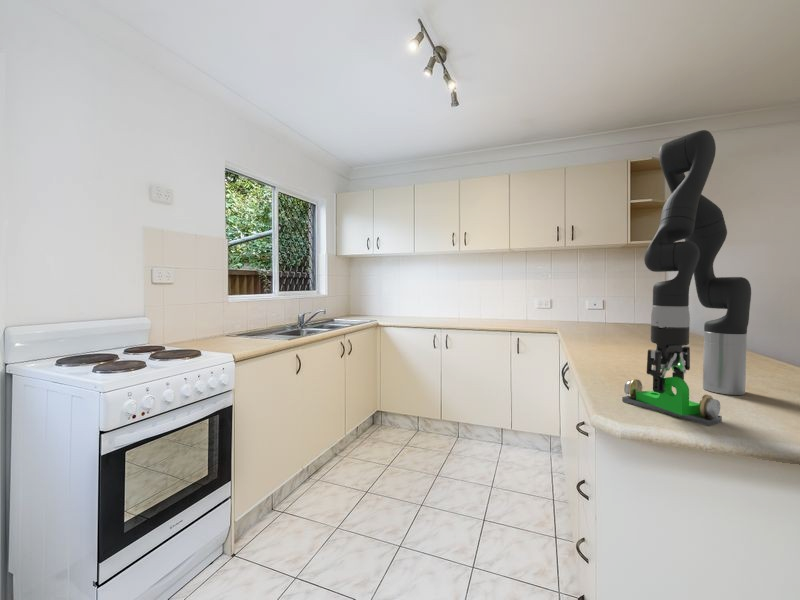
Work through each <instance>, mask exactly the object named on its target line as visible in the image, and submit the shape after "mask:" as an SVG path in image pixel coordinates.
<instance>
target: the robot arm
mask: <svg viewBox="0 0 800 600" xmlns="http://www.w3.org/2000/svg"><path fill="white" fill-rule="evenodd" d="M716 145H717V144H716V141H715V138H714V136H713V135H712V133H711V132H710V131H709V130H705V129H704V130H703V129H702V130H697V131H694V132H691V133H689V134H687V135H684V136H681V137H679V138H674V139H673V140H670V141H666V142H665V143H663V144H662V145H661V146H660V148H659V150H658V157H659V158H658V160H659V165H660V168H661V171H662V173H663V175H664V178H665V182H666V183H667V186H668V188H669V191H670V193H671V194H670V196H668V198H667V200H666V201H665V202H664V205H663V206H662V210H661V215H660V221H659V225H658V228H657V231H656V233H654V234H655V235H654V236H653V238H652V240H651V241H650V242H649V245H648V247H647V248H646V250H645V253H644V259H643V262H644V265H645V267H646V268H647V269H648V270H649V271H651V272H654V273H655V272H656V273H657V272H658V273H663V272H664V273H665V272H677V274H676V276H675V277H674V278H672V279H669V280H665V281H659V282H656V283H655V284H654V285H653V288H652V310H651V315H650V342H652V343H653V344H655V345H656V348H655V349H648V350H647V357H646V360H647V361H646V374H647V375H650V376H652V391H654V392H657V393H664V388H665V378H666V377H665V376H666V374H667V372H668V371H670V370H671V371H672V373H671V374H672V375H671V377H679V378H681V379H683V380H684V381H685V374H687V371H690V369H691V353H690V352H691V349H690V346H688V345H689V344H690V323H691V322H690V321H691V317H690V316H691V315H690V310H689V309H690V307H689V303H690V296H689V295H690V288H691V287H690V286H691V282H692V279H693V277H694V284H695V290H696V293H697V297H698V298H697V299H698V300H699V302H700V304H701V305H702V306H703V307H704V308H708V309H716V310H719V309H721V310H722V309H723V310H726V313H725V315H723V316H722V317H719V318H716V319H712V320H707V321H705V322H704V327H703V331H704V332H703V364H702V367H703V368H702V389H704V390H706V391H709V392H712V393H716V394H723V395H731V396H742V395H743V396H744V395H745V394H746V379H747V373H746V372H747V347H748V346H747V343H748V342H747V341H748V340H747V338H748V337H747V336H748V334H747V333H748V327H749V326H748V325H749V321H750V310H751V309H750V308H751V302H752V301H751V300H752V287H751V283H750V281H749V280H748V279H747V278H745V277H743V276H729V277H728V276H725V277H723V276H722V277H721V276H720V277H719V276H718V277H716V275H715V270H714V262H715V260H716V257H717V255H718V254H719V252H720V251H721V249H722V247H723V245H724V243H725V241H726V239H727V235H728V230H727V229H728V228H727V225H726V221H725V217H724V213H723V211H722V209H721V208H720V207H719V206H718V205H717V204H716V203H714V202H713V201H711V200H710V199H709V198H707V197H706V196H704V195H703V194H702V192H703V190H704V188H705V185H706V182H707V180H708V178H709V175H710V172H711V169H712V167H713V164H714V161H715V157H716ZM686 173H687V174H686ZM683 240H684V241H683ZM652 366H653V367H652ZM672 388H675V387H674V386H672Z"/></svg>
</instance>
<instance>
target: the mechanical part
mask: <svg viewBox="0 0 800 600" xmlns="http://www.w3.org/2000/svg"><path fill="white" fill-rule="evenodd" d="M664 378H665V388H664V393H657V392H654V391H653V390H644V391H643V390H642V391H640V392H636V400H639V401H642V402H645V403H648V404H651V405H654V406H656V407H659V408H662V409H665V410H668V411H671V412H674V413H677V414H679V415H690V414H699V413H700V412H699V404H700V402H699V403H698V402H695V401H693V400H690V387H689V386H688V385H689V384H688V383H687V382H686V381H685V379H684V380H683V379H681V378H679V377H672V376H668V377H664ZM673 386H674V387H673ZM673 388H675V390H676V391H675V393H674V391H673Z"/></svg>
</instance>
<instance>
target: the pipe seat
mask: <svg viewBox="0 0 800 600" xmlns="http://www.w3.org/2000/svg"><path fill="white" fill-rule="evenodd" d="M623 388H624V389H623V390H624V393H625V395H626V396H622V397H621V398H622V401H623V403H627V404H629V405H633V406H637V407H641V408H643V409H648V410H651V411H654V412H658V413H661V412H662V413H661V414H666V415H669V416H672V417H675V418H680V419H682V420H686V421H689V422H693V423H697V424H700V425H705V426H708V427H710V426H713V425H716V424H719V423H722V422H723V418H722V415H719V414H720V411H721V402H720V401H719V399H715V398H714V397H713V396H712V395H710V394H704V395H703V396H702V397H701V398H700V400H699V412H700V413H699V414H690V415H679V414H677V413H674V412H671V411H668V410H665V409H662V408H659V407H656V406H654V405H651V404H648V403H645V402H642V401H639V400H636V392H640V391H643V383H642V382H641V380H640V379H636V378H634V379H631V380H630V379H628V380H627V381H625V384H624V387H623Z"/></svg>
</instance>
